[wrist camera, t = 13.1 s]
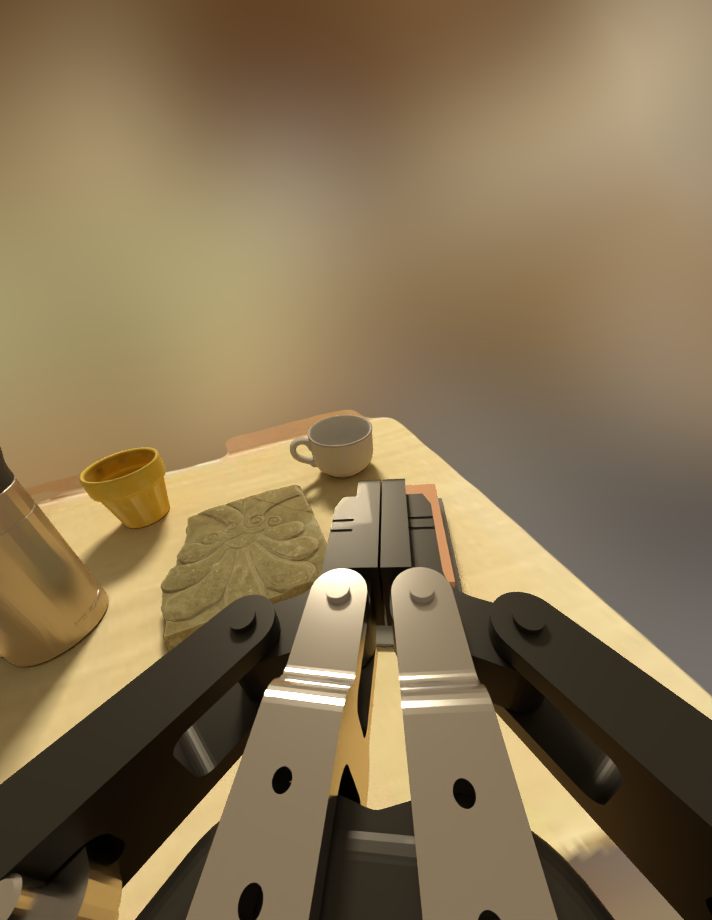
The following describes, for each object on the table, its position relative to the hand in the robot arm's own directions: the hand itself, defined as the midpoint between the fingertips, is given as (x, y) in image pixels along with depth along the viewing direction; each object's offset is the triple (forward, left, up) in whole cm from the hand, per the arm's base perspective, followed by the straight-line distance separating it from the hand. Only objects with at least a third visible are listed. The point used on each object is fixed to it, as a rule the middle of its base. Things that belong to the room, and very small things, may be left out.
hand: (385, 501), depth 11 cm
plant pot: (-35, +36, -24) cm, 55 cm away
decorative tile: (-16, +23, -24) cm, 37 cm away
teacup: (-4, +41, -24) cm, 47 cm away
